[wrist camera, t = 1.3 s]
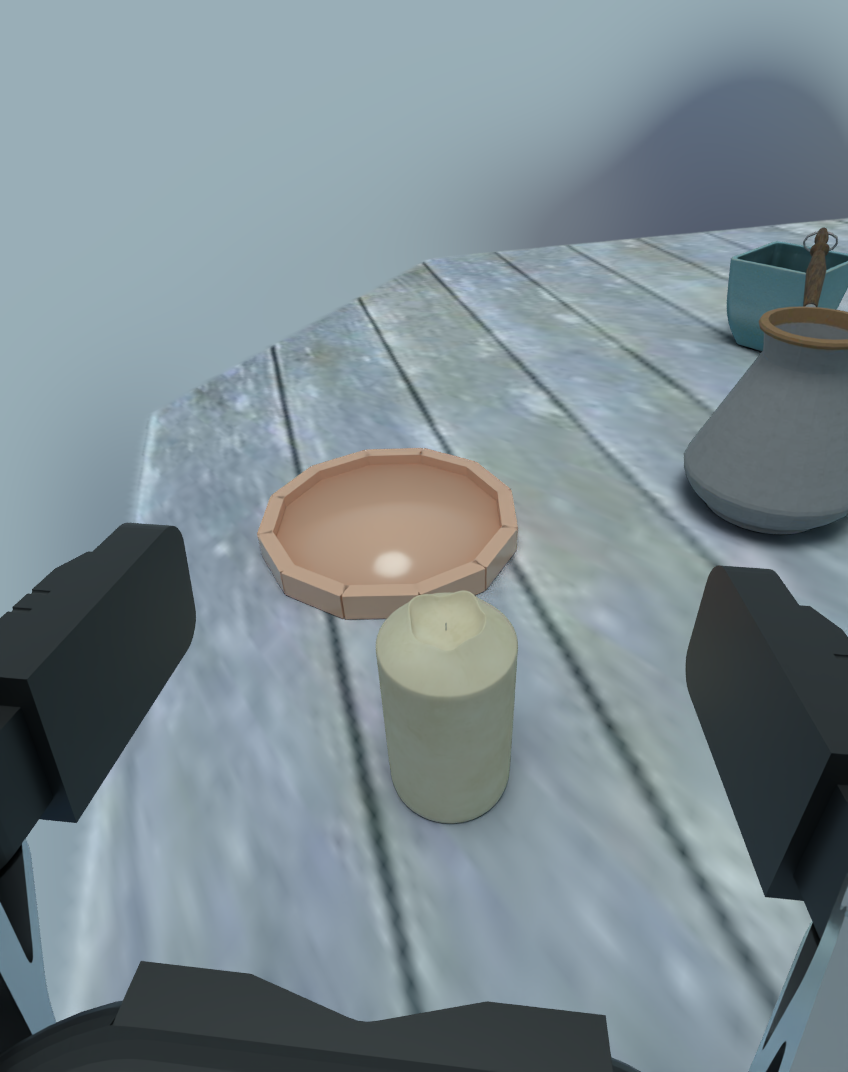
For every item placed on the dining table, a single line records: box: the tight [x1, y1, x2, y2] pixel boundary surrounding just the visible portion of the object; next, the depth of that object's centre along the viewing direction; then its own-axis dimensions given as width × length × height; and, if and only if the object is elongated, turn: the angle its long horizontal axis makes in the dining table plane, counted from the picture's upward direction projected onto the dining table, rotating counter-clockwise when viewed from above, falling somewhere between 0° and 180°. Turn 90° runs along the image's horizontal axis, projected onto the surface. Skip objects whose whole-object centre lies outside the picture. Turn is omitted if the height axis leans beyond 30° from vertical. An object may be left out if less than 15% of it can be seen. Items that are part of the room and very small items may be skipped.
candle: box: [376, 591, 518, 823], centre depth 28 cm, size 6×6×10 cm
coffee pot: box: [684, 228, 848, 534], centre depth 46 cm, size 21×12×15 cm, turn 155°
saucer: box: [257, 448, 518, 619], centre depth 45 cm, size 17×17×2 cm
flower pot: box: [727, 241, 848, 351], centre depth 67 cm, size 9×9×9 cm
